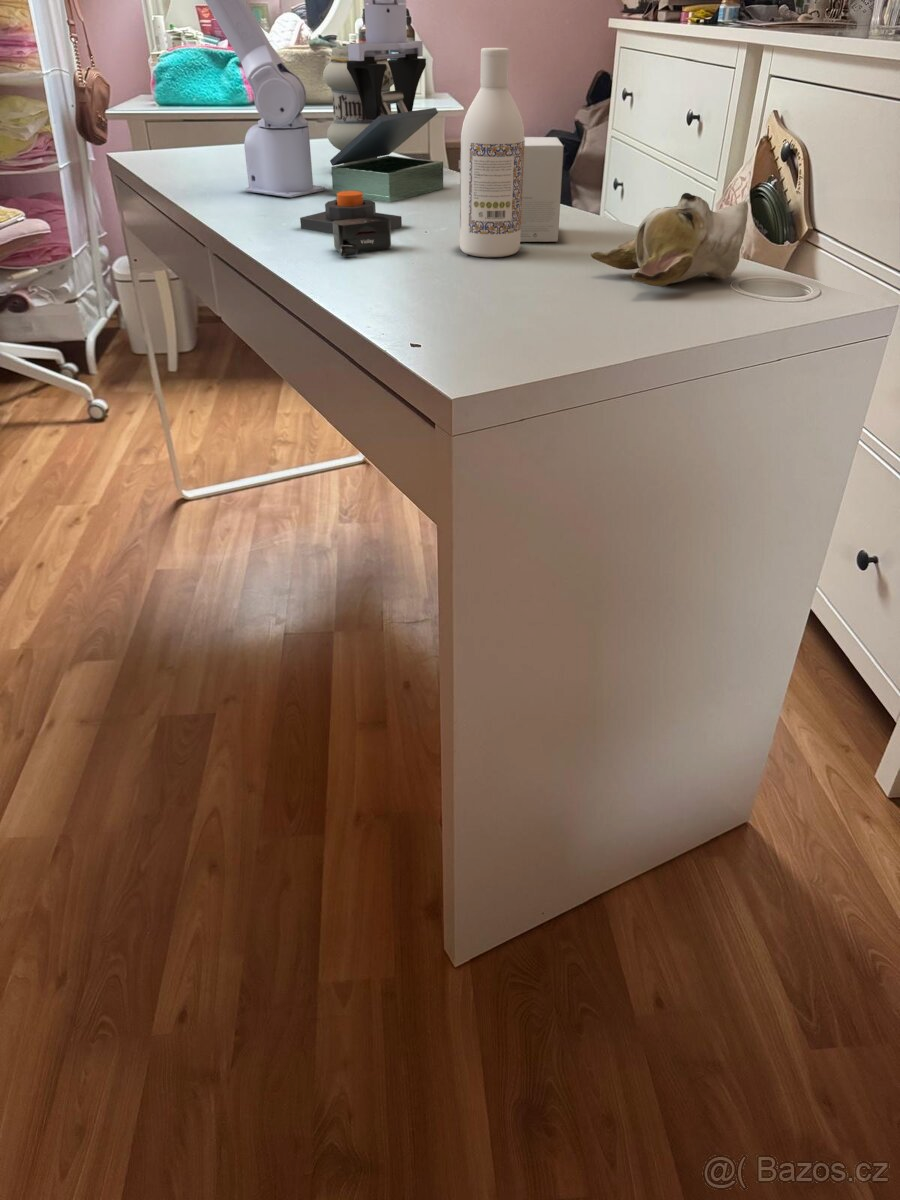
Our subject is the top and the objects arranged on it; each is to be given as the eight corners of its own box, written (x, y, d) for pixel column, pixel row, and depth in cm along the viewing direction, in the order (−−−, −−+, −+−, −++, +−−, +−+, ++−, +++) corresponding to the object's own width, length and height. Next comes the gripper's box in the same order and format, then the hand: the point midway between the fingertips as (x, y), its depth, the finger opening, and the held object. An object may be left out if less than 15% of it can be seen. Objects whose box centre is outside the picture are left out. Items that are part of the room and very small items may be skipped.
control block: (300, 229, 113) (298, 203, 111) (341, 218, 119) (340, 194, 117) (362, 239, 108) (361, 212, 107) (402, 227, 114) (401, 202, 112)
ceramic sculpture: (781, 193, 85) (639, 213, 82) (768, 286, 90) (634, 308, 87) (720, 176, 94) (589, 193, 90) (711, 262, 99) (587, 281, 95)
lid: (438, 112, 132) (423, 80, 131) (381, 121, 123) (365, 87, 122) (388, 154, 140) (374, 125, 139) (332, 166, 131) (316, 134, 130)
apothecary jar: (339, 165, 157) (331, 44, 147) (406, 166, 155) (403, 44, 145) (321, 176, 147) (312, 47, 137) (393, 177, 145) (389, 48, 135)
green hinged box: (443, 188, 137) (443, 161, 135) (389, 202, 128) (388, 173, 126) (388, 182, 142) (387, 155, 140) (333, 194, 133) (331, 166, 131)
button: (332, 207, 112) (331, 193, 111) (348, 202, 114) (347, 189, 113) (352, 209, 110) (351, 196, 109) (368, 205, 112) (367, 192, 111)
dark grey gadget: (326, 252, 103) (324, 221, 101) (383, 245, 106) (382, 216, 104) (341, 260, 100) (339, 229, 98) (399, 253, 102) (398, 223, 101)
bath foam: (530, 254, 102) (541, 49, 91) (476, 261, 99) (480, 50, 88) (501, 242, 107) (508, 46, 96) (449, 248, 105) (450, 47, 93)
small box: (558, 243, 107) (564, 145, 101) (511, 242, 107) (515, 144, 101) (553, 228, 113) (558, 136, 108) (508, 228, 114) (512, 135, 108)
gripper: (375, 4, 115) (379, 123, 123) (439, 4, 125) (440, 114, 133) (333, 4, 118) (340, 120, 126) (399, 4, 128) (402, 111, 136)
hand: (388, 117), depth 129 cm, fingers open, 7 cm apart
